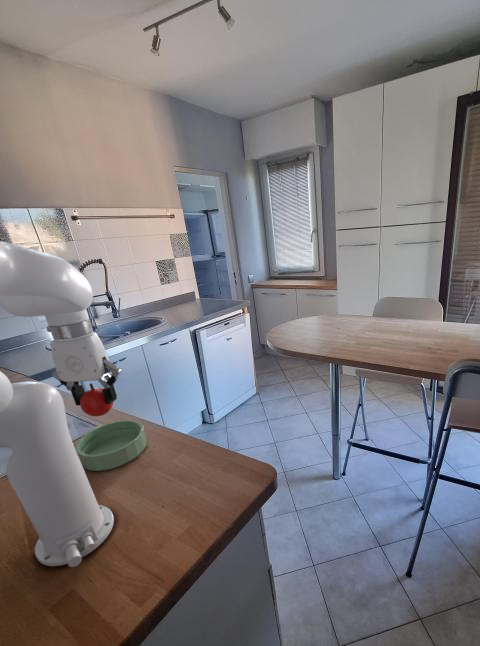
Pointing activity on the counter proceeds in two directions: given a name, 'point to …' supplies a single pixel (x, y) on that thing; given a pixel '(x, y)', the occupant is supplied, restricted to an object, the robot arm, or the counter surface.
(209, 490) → the counter surface
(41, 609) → the counter surface
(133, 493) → the counter surface
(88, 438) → the bowl
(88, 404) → the apple
